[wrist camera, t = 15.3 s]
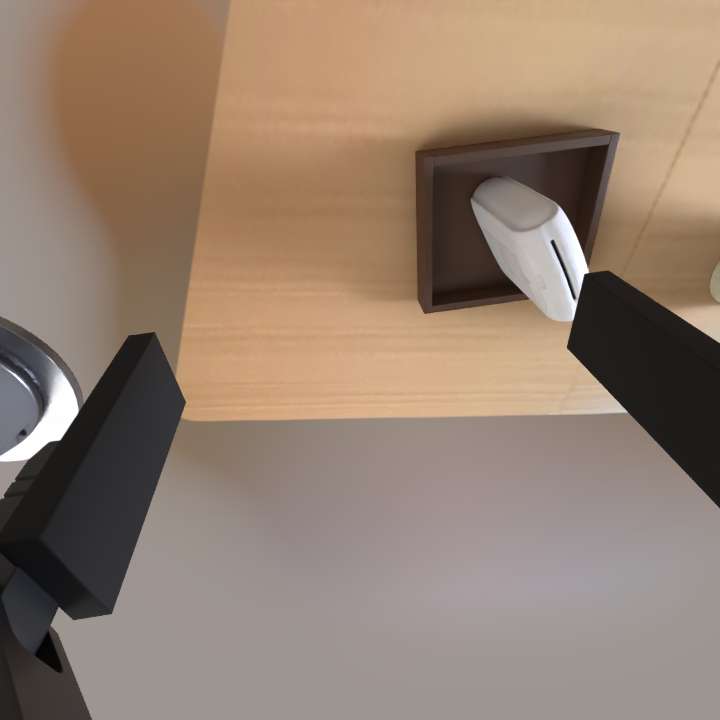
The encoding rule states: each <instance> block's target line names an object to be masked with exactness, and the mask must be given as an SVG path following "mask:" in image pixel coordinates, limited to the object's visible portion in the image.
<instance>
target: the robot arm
mask: <svg viewBox="0 0 720 720" xmlns="http://www.w3.org/2000/svg"><path fill="white" fill-rule="evenodd" d="M567 348H568V350H569V351H570V352H571V353H572V354H573V355H574V356H575V357H576V358H577V359H578V360H579V361H580V362H581V363H582V364H583V365H584V366H585V367H586V368H587V369H588V371H589V372H590V373H591V374H592V375H593V376H594V377H595V378H596V379H597V380H598V381H599V382H600V383H601V384H602V385H603V386H604V387H605V388H606V389H607V390H608V391H609V393H610V394H611V395H612V396H613V397H614V398H615V399H616V400H617V401H618V402H619V403H620V404H621V405H622V406H623V407H624V408H625V409H626V410H627V411H628V412H629V413H630V415H631V416H632V417H633V418H634V419H635V420H636V421H637V422H638V423H639V424H640V425H641V426H642V427H643V428H644V429H645V430H646V431H647V432H648V433H649V434H650V436H651V437H652V438H653V439H654V440H655V441H656V442H657V443H658V444H659V445H660V446H661V447H662V448H663V449H664V450H665V451H666V452H667V453H668V454H669V455H670V457H671V458H672V459H673V460H674V461H675V462H676V463H677V464H678V465H679V466H680V467H681V468H682V469H683V470H684V471H685V472H686V473H687V474H688V475H689V476H690V477H691V478H692V480H694V482H695V483H696V484H697V485H698V486H699V487H700V488H701V489H702V490H703V491H704V492H705V493H706V494H707V495H708V496H709V497H710V498H711V499H712V501H714V502H715V504H716V505H717V506H718V507H719V508H720V343H718V342H717V341H715V340H714V339H712V338H711V337H709V336H708V335H706V334H705V333H703V332H702V331H700V330H699V329H697V328H696V327H694V326H692V325H691V324H689V323H688V322H686V321H685V320H683V319H682V318H680V317H679V316H677V315H676V314H674V313H673V312H671V311H670V310H668V309H666V308H665V307H663V306H662V305H660V304H659V303H657V302H656V301H654V300H653V299H651V298H650V297H648V296H647V295H645V294H644V293H642V292H640V291H639V290H637V289H636V288H634V287H633V286H631V285H630V284H628V283H627V282H625V281H624V280H622V279H621V278H619V277H618V276H616V275H614V274H613V273H611V272H610V271H601V272H593V273H586V274H584V277H583V282H582V286H581V290H580V294H579V298H578V303H577V307H576V311H575V315H574V320H573V324H572V328H571V332H570V337H569V341H568V345H567ZM185 403H186V401H185V399H184V397H183V395H182V392H181V390H180V388H179V386H178V383H177V381H176V379H175V376H174V374H173V372H172V370H171V367H170V365H169V363H168V361H167V358H166V356H165V354H164V352H163V350H162V347H161V345H160V343H159V340H158V338H157V336H156V334H155V332H152V333H145V334H138V335H130V336H128V337H127V339H126V341H125V342H124V344H123V345H122V347H121V348H120V350H119V351H118V353H117V354H116V356H115V357H114V359H113V360H112V362H111V364H110V365H109V367H108V368H107V370H106V371H105V373H104V374H103V376H102V377H101V379H100V380H99V382H98V384H97V385H96V386H95V388H94V389H93V391H92V393H91V394H90V396H89V397H88V399H87V400H86V402H85V403H84V405H83V406H82V408H81V409H80V411H79V412H78V414H77V415H76V417H75V418H74V420H73V421H72V423H71V425H70V426H69V428H68V429H67V431H66V432H65V434H64V435H63V437H62V438H61V440H58V441H51V442H48V443H47V444H46V445H45V446H44V447H42V448H41V449H40V450H39V451H38V452H37V453H36V454H34V455H33V456H32V457H31V458H30V459H29V460H28V461H27V463H26V464H25V465H24V467H23V468H22V470H21V471H20V473H19V474H18V476H17V477H16V478H15V480H16V481H15V482H13V483H12V484H11V485H10V487H9V488H8V490H7V491H6V493H5V494H4V499H1V500H0V720H92V719H91V716H90V713H89V711H88V708H87V706H86V703H85V701H84V698H83V696H82V694H81V691H80V688H79V686H78V683H77V681H76V678H75V676H74V673H73V671H72V668H71V666H70V663H69V661H68V658H67V656H66V653H65V651H64V648H63V646H62V643H61V641H60V638H59V636H58V633H57V632H56V631H55V630H54V629H53V628H52V627H51V626H50V625H51V623H52V620H53V618H54V616H55V614H56V611H57V609H58V607H60V608H61V609H62V610H63V611H64V612H65V613H67V615H68V616H70V617H71V618H72V619H73V620H77V619H84V618H90V617H96V616H102V615H108V614H112V612H113V609H114V605H115V603H116V600H117V597H118V594H119V592H120V589H121V586H122V583H123V580H124V577H125V574H126V571H127V569H128V566H129V563H130V560H131V557H132V555H133V552H134V548H135V546H136V543H137V540H138V537H139V535H140V532H141V529H142V526H143V523H144V520H145V517H146V515H147V512H148V509H149V506H150V503H151V500H152V497H153V495H154V492H155V489H156V486H157V483H158V480H159V478H160V475H161V472H162V469H163V466H164V463H165V460H166V458H167V455H168V452H169V449H170V446H171V443H172V440H173V438H174V435H175V432H176V429H177V426H178V423H179V421H180V418H181V415H182V412H183V409H184V406H185ZM42 415H43V402H42V398H41V396H40V393H39V391H38V390H37V388H36V386H35V385H34V384H33V382H32V381H31V380H30V379H29V378H28V377H27V376H26V375H25V374H24V373H23V372H22V371H21V370H20V369H19V368H17V367H16V366H15V365H13V364H12V363H10V362H9V361H7V360H6V359H4V358H2V357H1V356H0V456H1V455H3V454H4V453H6V452H8V451H9V450H11V449H12V448H14V447H15V446H17V445H18V444H20V443H21V442H23V441H24V440H25V439H26V438H27V437H28V436H29V435H30V434H31V433H32V432H33V431H34V429H35V428H36V427H37V425H38V424H39V422H40V421H41V418H42Z"/></svg>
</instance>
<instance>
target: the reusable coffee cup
mask: <svg viewBox="0 0 720 720" xmlns="http://www.w3.org/2000/svg"><path fill="white" fill-rule="evenodd" d="M710 292H711V295H712V296H713V298H714V299H715V300H717V301H718V302H719V303H720V262H719V263H718V265H717V266H716V268H715V269H714V272H713V274H712V276H711V281H710Z"/></svg>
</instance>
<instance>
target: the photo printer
mask: <svg viewBox="0 0 720 720" xmlns="http://www.w3.org/2000/svg"><path fill="white" fill-rule="evenodd" d="M471 204H472V208H473V211H474V214H475V216H476V218H477V221H478V223H479V225H480V227H481V230H482V232H483V234H484V236H485V238H486V240H487V243H488V245H489V247H490V249H491V251H492V253H493V255H494V257H495V259H496V261H497V262H498V264H499V266H500V268H501V269H502V271H503V272H504V273H505V274H506V276H507V277H508V278H510V279H511V280H512V281H513V282H514V283H515V284H516V285H517V286H518V287H519V288H520V289H521V290H522V291H523V292H524V293H525V294H526V296H527V297H528V298H529V299H530V300H531V301H532V302H533V303H534V304H535V305H536V306H537V307H538V308H539V309H540V310H541V311H542V312H543V313H544V314H545V315H546V316H547V317H549V318H550V319H552V320H555V321H561V322H566V321H572V320H574V315H575V311H576V307H577V303H578V298H579V294H580V290H581V286H582V282H583V277H584V274H586V273H589V272H588V268H587V264H586V261H585V258H584V255H583V252H582V249H581V247H580V244H579V241H578V239H577V237H576V234H575V232H574V230H573V228H572V226H571V224H570V222H569V220H568V218H567V216H566V214H565V213H564V212H563V210H562V209H561V208H560V207H559V205H558V204H557V203H555V202H554V201H552V200H550V199H549V198H547V197H545V196H543V195H541V194H539V193H538V192H536V191H534V190H532V189H530V188H528V187H527V186H525V185H523V184H521V183H519V182H517V181H515V180H513V179H511V178H509V177H507V176H503V177H501V178H498V177H494V178H490V179H487V180H486V181H484V182H483V183H481V184H480V185H479V186H478V187H477V189H476V190H475V192H474V194H473V197H471Z"/></svg>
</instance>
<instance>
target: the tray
mask: <svg viewBox="0 0 720 720" xmlns="http://www.w3.org/2000/svg"><path fill="white" fill-rule="evenodd" d="M619 136H620V133H618V132H613V131H608V130H603V129H592V130H584V131H576V132H568V133H560V134H552V135H544V136H536V137H528V138H520V139H512V140H504V141H495V142H487V143H479V144H471V145H463V146H455V147H447V148H439V149H431V150H423V151H416V152H415V154H416V218H417V281H418V301H419V304H420V306H421V308H422V310H423V312H424V314H427V313H434V312H441V311H449V310H456V309H463V308H470V307H477V306H485V305H492V304H499V303H506V302H514V301H521V300H528V299H529V298H528V297H527V296H526V294H525V293H524V292H523V291H522V290H521V289H520V288H519V287H518V286H517V285H516V284H515V283H514V282H513V281H512V280H511V279H510V278H508V277H507V276H506V274H505V273H504V272H503V271H502V269H501V268H500V266H499V264H498V262H497V261H496V259H495V257H494V255H493V253H492V251H491V249H490V247H489V245H488V243H487V240H486V238H485V236H484V234H483V232H482V230H481V227H480V225H479V223H478V221H477V218H476V216H475V214H474V211H473V208H472V204H471V197H473V194H474V192H475V190H476V189H477V187H478V186H479V185H480V184H481V183H483V182H484V181H486V180H487V179H490V178H494V177H498V178H501V177H503V176H507V177H509V178H511V179H513V180H515V181H517V182H519V183H521V184H523V185H525V186H527V187H528V188H530V189H532V190H534V191H536V192H538V193H539V194H541V195H543V196H545V197H547V198H549V199H550V200H552V201H554V202H555V203H557V204H558V205H559V207H560V208H561V209H562V210H563V212H564V213H565V214H566V216H567V218H568V220H569V222H570V224H571V226H572V228H573V230H574V232H575V234H576V237H577V239H578V241H579V244H580V247H581V249H582V252H583V255H584V258H585V261H586V264H587V268H588V266H589V262H590V258H591V254H592V249H593V245H594V241H595V237H596V233H597V228H598V224H599V220H600V216H601V211H602V207H603V203H604V199H605V195H606V190H607V186H608V182H609V178H610V174H611V169H612V165H613V161H614V157H615V152H616V148H617V144H618V140H619Z"/></svg>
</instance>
